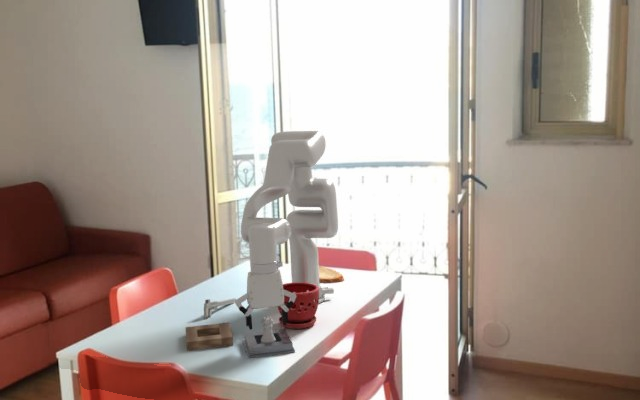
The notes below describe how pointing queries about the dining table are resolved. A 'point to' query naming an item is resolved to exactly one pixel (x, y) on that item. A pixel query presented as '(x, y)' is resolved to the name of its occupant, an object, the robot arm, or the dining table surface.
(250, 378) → the dining table surface
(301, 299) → the plant pot
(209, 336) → the socket block
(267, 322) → the rook chess piece
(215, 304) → the caliper
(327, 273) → the golden brown flat disc
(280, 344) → the holder
